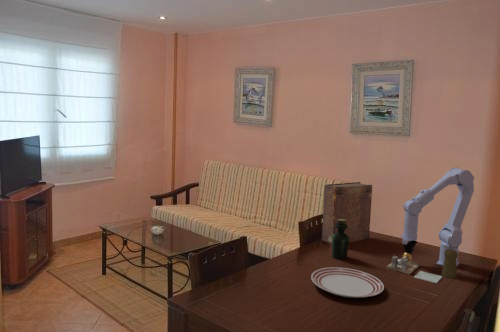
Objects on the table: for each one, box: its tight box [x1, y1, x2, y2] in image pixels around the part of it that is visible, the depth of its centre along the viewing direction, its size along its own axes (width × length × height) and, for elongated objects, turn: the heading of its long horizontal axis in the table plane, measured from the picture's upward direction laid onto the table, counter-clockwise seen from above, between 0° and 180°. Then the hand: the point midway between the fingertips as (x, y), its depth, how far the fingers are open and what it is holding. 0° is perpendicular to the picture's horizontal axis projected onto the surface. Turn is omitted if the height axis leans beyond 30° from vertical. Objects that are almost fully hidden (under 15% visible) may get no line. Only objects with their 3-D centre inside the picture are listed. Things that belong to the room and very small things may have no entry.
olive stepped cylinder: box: [440, 249, 459, 279], centre depth 179 cm, size 6×6×11 cm
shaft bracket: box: [386, 255, 421, 275], centre depth 187 cm, size 14×10×6 cm
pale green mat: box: [413, 270, 444, 284], centre depth 176 cm, size 9×9×1 cm
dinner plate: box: [310, 267, 385, 299], centre depth 163 cm, size 28×27×3 cm
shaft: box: [397, 252, 413, 265], centre depth 186 cm, size 11×4×4 cm, turn 142°
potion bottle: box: [331, 219, 350, 260], centre depth 197 cm, size 8×8×18 cm
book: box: [321, 181, 373, 245], centre depth 224 cm, size 25×9×30 cm, turn 120°
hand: (408, 256), depth 192 cm, fingers closed
